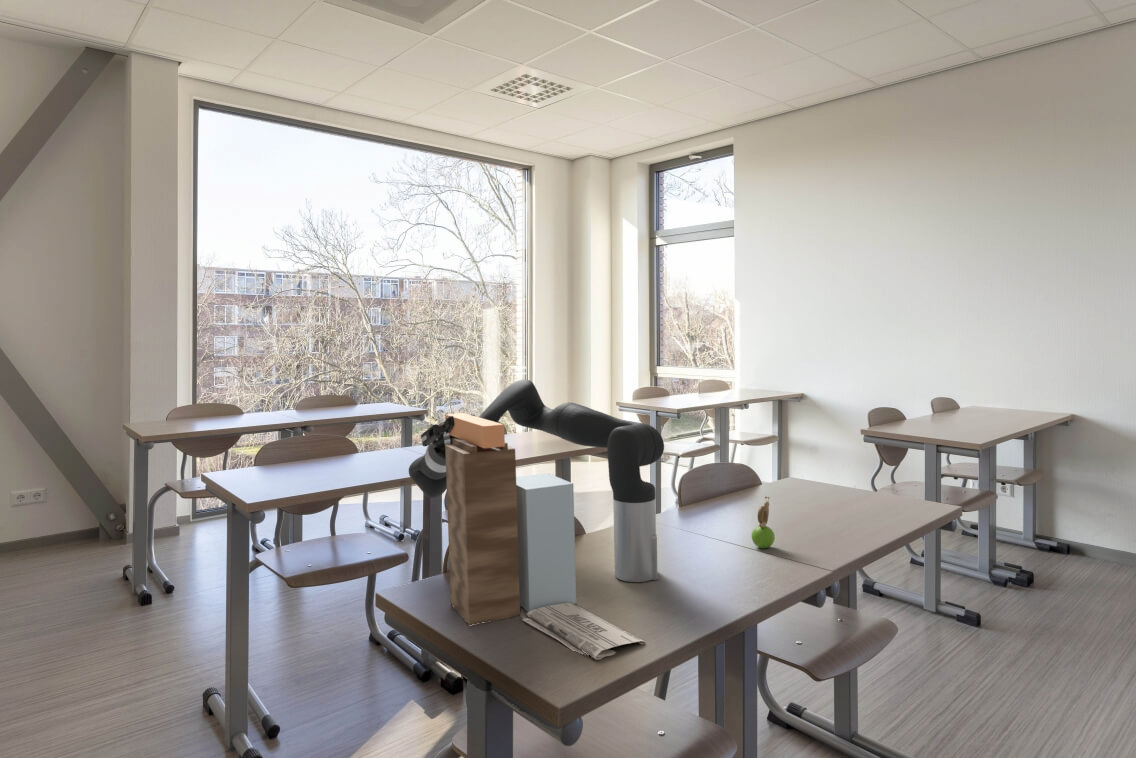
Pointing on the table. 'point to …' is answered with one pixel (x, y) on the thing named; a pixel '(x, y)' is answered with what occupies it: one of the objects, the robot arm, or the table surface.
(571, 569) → the short post
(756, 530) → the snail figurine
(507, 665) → the table surface
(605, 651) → the newspaper
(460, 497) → the tall post
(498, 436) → the beam
